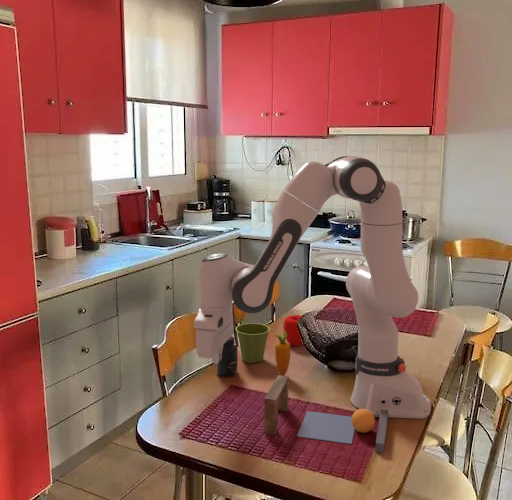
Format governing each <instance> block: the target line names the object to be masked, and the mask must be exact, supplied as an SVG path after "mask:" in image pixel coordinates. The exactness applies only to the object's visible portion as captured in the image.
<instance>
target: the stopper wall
mask: <svg viewBox="0 0 512 500" xmlns="http://www.w3.org/2000/svg"><path fill="white" fill-rule="evenodd" d="M378 418H379V419H378V426H377V432H376V438H375V449H374V451H375V453H379V454H385V446H386V445H385V444H386V436H387V428H388V421H389V417H388V410H383V409H381V411H380V417H378Z"/></svg>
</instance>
